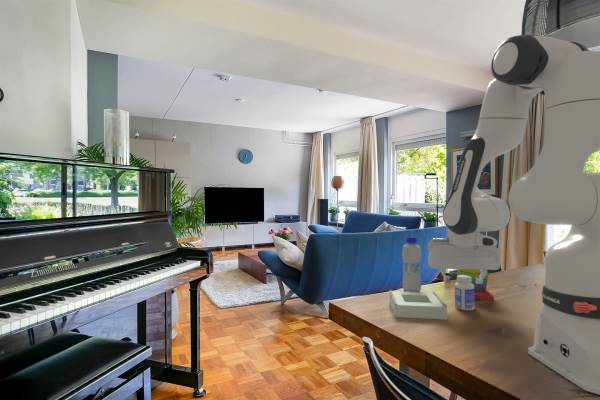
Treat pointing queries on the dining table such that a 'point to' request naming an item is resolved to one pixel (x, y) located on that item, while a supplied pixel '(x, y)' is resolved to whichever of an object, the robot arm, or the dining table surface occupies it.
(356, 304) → the dining table surface
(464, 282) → the pill bottle
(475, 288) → the stacking bear
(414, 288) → the bottle
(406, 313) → the holed board
